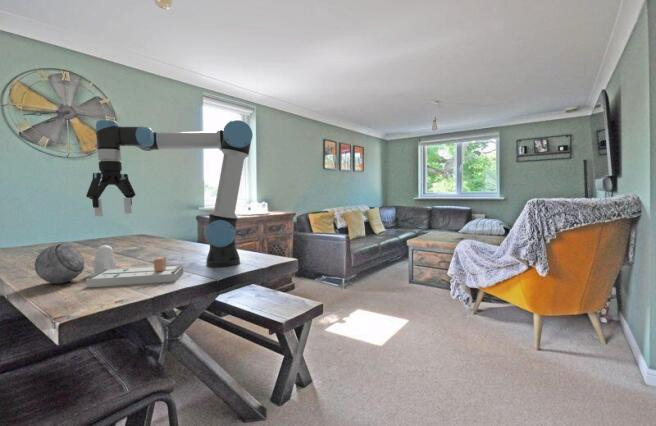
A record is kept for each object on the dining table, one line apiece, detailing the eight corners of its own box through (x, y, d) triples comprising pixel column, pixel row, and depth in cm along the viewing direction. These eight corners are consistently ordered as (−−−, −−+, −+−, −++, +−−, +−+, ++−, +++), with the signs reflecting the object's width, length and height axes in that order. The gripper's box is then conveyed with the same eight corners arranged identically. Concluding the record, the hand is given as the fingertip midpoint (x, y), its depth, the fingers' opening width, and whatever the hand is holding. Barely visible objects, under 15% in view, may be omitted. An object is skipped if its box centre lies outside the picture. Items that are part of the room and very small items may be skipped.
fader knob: (166, 268, 134) (165, 256, 134) (162, 271, 129) (162, 258, 129) (158, 268, 133) (157, 256, 133) (154, 271, 128) (153, 259, 128)
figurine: (104, 275, 136) (103, 247, 135) (89, 275, 138) (87, 246, 137) (118, 271, 143) (117, 244, 142) (104, 271, 145) (102, 243, 144)
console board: (183, 272, 140) (183, 264, 139) (175, 281, 126) (175, 271, 126) (103, 277, 133) (103, 268, 133) (86, 287, 120) (86, 277, 119)
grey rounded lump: (70, 287, 121) (67, 246, 120) (25, 289, 118) (22, 247, 117) (92, 276, 135) (90, 240, 134) (52, 278, 133) (50, 241, 132)
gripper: (128, 163, 143) (131, 212, 144) (71, 159, 119) (76, 217, 120) (142, 162, 141) (146, 212, 143) (87, 157, 117) (93, 217, 118)
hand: (114, 214), depth 131 cm, fingers open, 13 cm apart
